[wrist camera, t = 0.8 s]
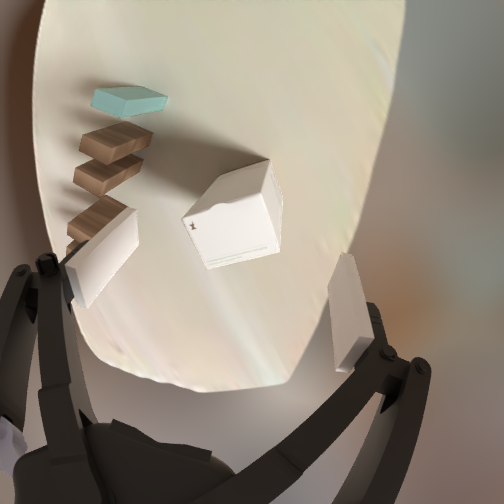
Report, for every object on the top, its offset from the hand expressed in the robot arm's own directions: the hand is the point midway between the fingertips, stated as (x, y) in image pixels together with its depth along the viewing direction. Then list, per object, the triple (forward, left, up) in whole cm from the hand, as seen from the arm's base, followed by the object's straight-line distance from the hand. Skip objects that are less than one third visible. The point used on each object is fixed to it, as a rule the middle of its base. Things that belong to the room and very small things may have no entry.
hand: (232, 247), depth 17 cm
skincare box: (+4, -2, -24) cm, 24 cm away
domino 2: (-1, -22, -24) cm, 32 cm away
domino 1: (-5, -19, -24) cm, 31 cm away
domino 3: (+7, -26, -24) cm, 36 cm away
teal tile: (-10, -17, -24) cm, 31 cm away
